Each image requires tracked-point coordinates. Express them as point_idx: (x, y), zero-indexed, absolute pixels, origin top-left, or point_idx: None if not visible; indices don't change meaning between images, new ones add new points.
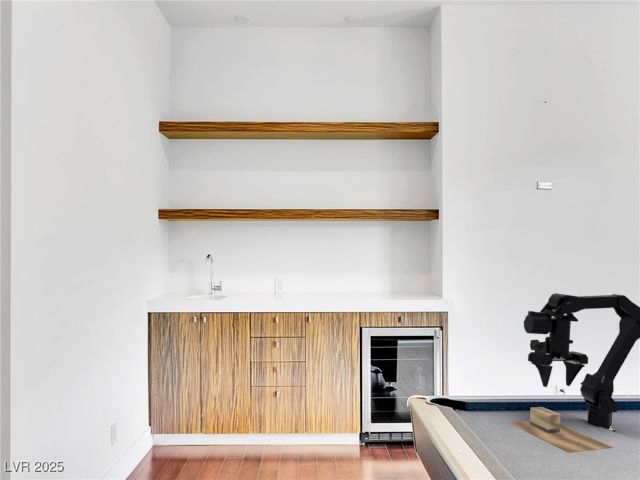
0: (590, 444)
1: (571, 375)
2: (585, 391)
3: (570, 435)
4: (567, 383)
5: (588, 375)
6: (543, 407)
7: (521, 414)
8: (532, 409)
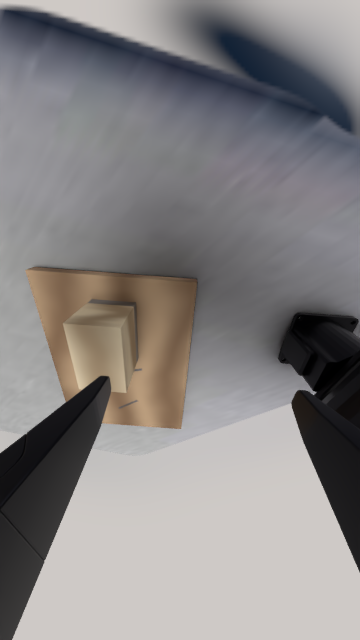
0: (148, 412)
1: (341, 495)
2: (356, 408)
3: (147, 377)
4: (301, 407)
5: None
6: (120, 334)
7: (182, 155)
8: (67, 330)
